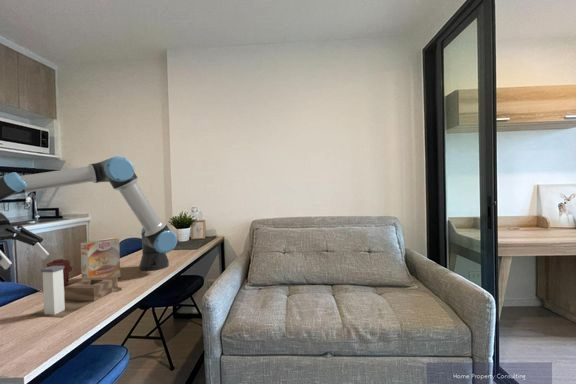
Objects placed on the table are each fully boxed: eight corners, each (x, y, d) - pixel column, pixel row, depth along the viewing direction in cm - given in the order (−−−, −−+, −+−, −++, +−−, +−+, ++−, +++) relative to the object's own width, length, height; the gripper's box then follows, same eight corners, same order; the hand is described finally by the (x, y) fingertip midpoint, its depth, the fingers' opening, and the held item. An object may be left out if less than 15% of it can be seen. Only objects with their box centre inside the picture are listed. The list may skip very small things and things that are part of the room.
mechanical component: (78, 283, 139) (57, 290, 129) (61, 282, 141) (39, 289, 131) (77, 257, 138) (56, 263, 128) (59, 257, 140) (38, 262, 130)
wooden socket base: (92, 289, 130) (92, 275, 129) (121, 289, 128) (121, 276, 128) (26, 319, 101) (25, 302, 101) (62, 320, 99) (61, 303, 99)
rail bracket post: (55, 308, 106) (53, 265, 106) (66, 309, 106) (64, 265, 105) (42, 314, 102) (40, 269, 101) (54, 314, 101) (52, 269, 101)
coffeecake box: (89, 285, 135) (87, 243, 134) (81, 283, 138) (79, 242, 138) (121, 276, 148) (119, 238, 147) (113, 274, 151) (111, 237, 151)
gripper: (19, 223, 119) (53, 260, 117) (-60, 232, 94) (-18, 279, 93) (31, 210, 118) (65, 247, 117) (-46, 215, 93) (-4, 263, 92)
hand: (28, 261), depth 105 cm, fingers open, 13 cm apart
